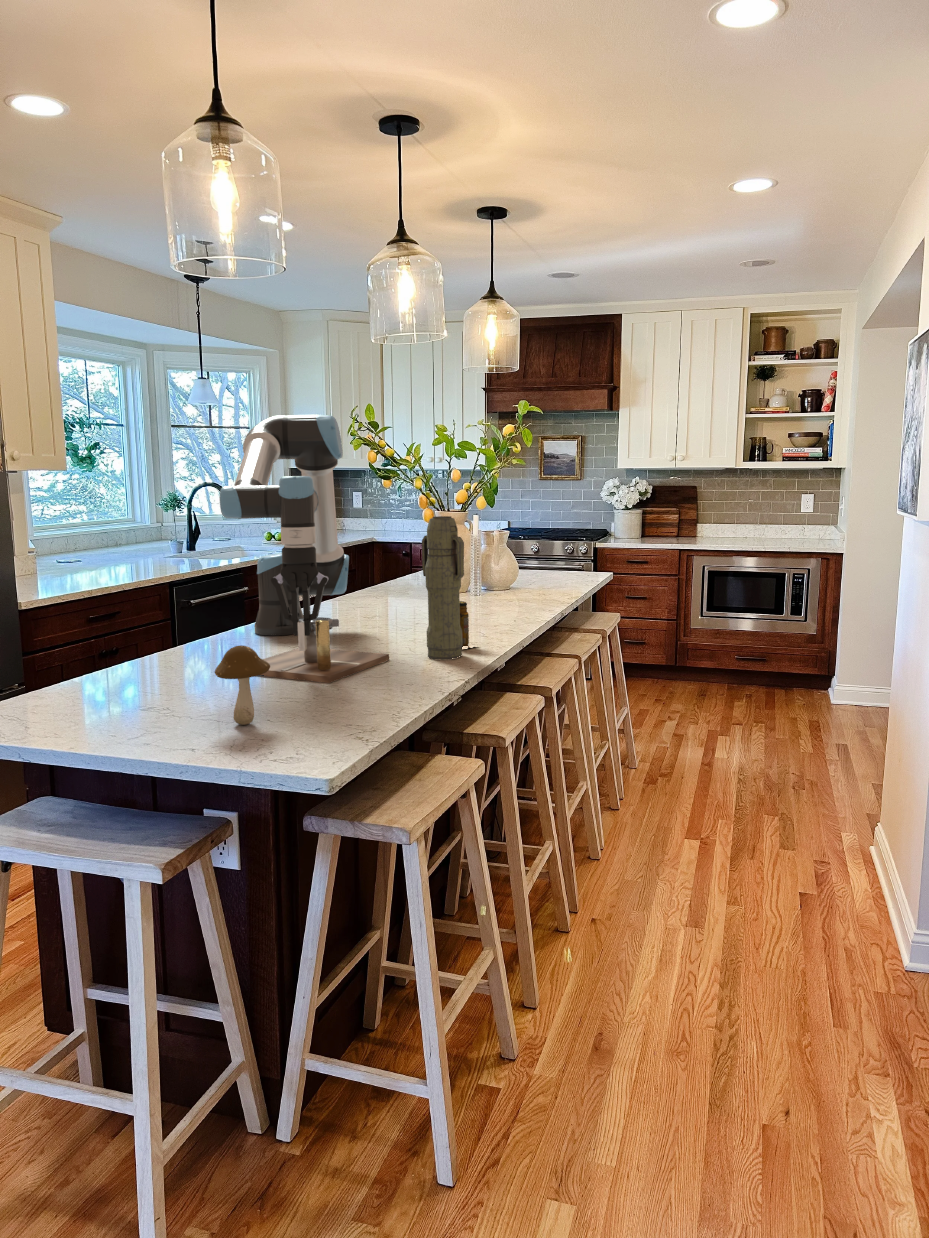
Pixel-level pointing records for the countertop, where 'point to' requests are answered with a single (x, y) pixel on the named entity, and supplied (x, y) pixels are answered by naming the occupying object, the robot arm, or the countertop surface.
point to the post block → (306, 666)
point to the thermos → (443, 586)
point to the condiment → (464, 623)
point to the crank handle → (323, 639)
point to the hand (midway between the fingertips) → (302, 649)
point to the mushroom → (242, 678)
